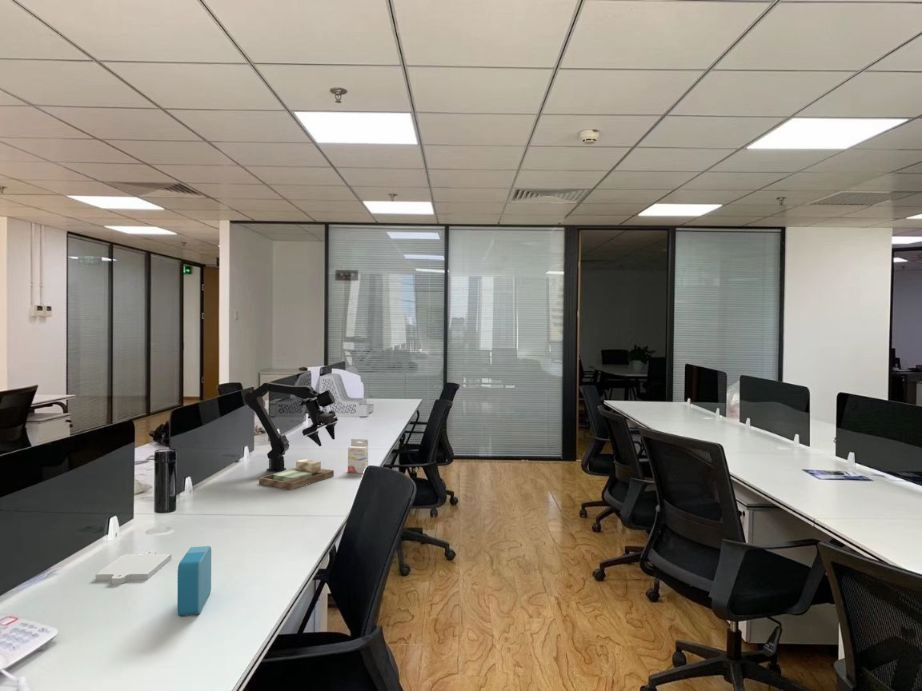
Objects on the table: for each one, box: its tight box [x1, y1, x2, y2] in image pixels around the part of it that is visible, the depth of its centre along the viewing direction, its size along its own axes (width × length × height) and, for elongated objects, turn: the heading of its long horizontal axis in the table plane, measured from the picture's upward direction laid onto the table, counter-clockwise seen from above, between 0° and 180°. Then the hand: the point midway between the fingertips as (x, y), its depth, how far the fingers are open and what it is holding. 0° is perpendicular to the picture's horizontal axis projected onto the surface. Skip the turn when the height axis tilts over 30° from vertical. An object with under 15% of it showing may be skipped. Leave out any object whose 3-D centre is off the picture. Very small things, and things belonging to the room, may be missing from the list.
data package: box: [176, 545, 212, 617], centre depth 130 cm, size 12×4×12 cm, turn 12°
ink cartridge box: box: [347, 438, 369, 474], centre depth 258 cm, size 9×5×15 cm, turn 84°
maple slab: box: [295, 458, 322, 472], centre depth 252 cm, size 10×5×4 cm, turn 62°
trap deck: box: [258, 467, 335, 491], centre depth 243 cm, size 18×26×2 cm
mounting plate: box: [95, 550, 172, 585], centre depth 149 cm, size 18×13×2 cm
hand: (327, 442), depth 258 cm, fingers open, 9 cm apart
